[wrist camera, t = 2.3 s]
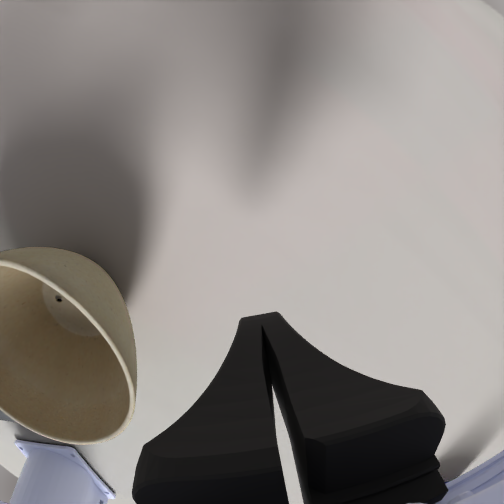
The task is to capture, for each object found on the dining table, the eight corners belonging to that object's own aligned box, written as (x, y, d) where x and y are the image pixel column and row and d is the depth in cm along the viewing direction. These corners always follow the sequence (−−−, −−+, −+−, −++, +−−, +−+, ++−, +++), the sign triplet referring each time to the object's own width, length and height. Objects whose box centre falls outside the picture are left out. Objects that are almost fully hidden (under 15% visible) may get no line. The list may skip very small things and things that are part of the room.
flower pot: (-5, 237, 15) (-79, 283, 9) (130, 192, 16) (70, 229, 9) (54, 369, 19) (14, 440, 12) (182, 353, 19) (170, 445, 12)
